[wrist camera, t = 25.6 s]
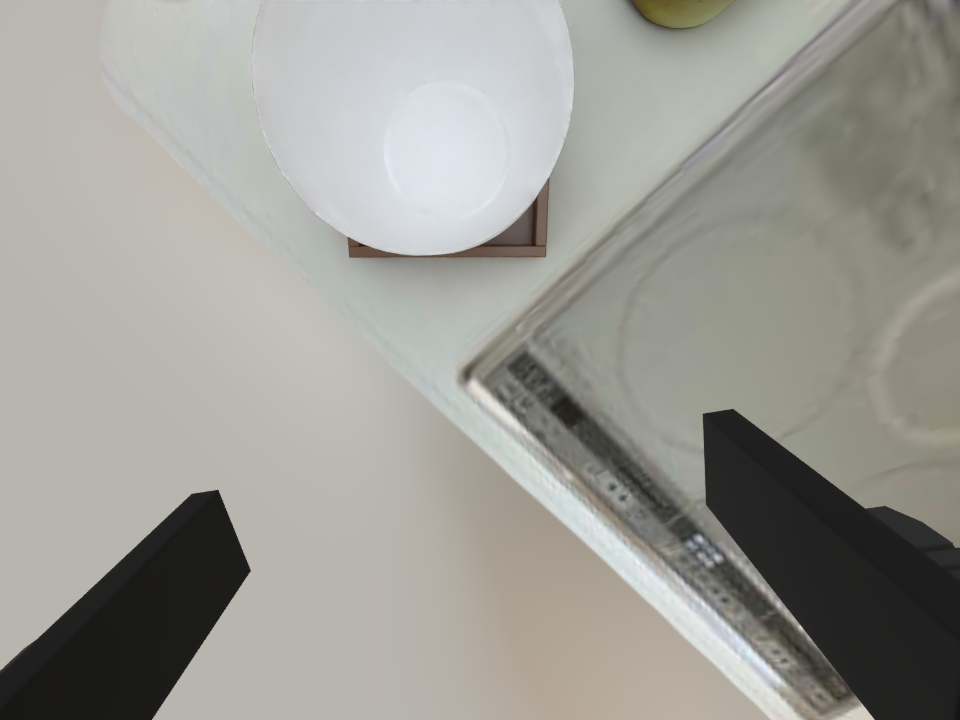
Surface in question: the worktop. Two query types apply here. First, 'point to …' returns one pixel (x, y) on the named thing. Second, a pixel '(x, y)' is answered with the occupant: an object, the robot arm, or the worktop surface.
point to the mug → (681, 11)
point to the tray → (513, 242)
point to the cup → (414, 113)
